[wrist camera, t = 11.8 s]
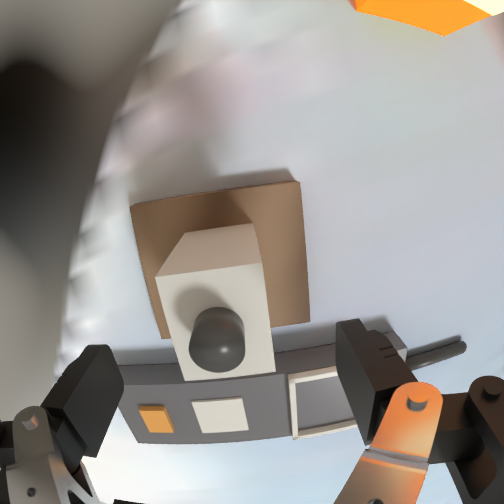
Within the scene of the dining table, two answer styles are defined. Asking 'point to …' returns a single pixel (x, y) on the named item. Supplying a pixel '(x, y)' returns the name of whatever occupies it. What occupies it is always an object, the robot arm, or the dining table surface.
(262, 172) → the dining table surface
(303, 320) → the walnut board
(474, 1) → the orange juice
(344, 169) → the dining table surface
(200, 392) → the grey panel with rod
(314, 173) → the dining table surface
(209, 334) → the plug
